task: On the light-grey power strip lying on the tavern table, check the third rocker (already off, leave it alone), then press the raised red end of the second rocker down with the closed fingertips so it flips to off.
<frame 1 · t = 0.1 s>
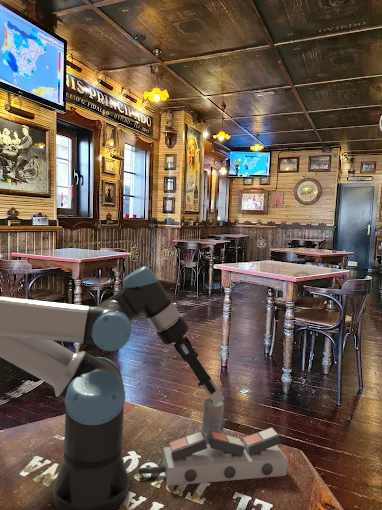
hand: (212, 389, 96), 15 cm above the table, tool tilted 35°, fingers open, 13 cm apart
energy drink: (211, 448, 97), on the table
rocker 2: (225, 443, 87), point 6 cm above the table, hinge at 17.0°
rocker 1: (188, 445, 85), point 6 cm above the table, hinge at -17.0°
rocker 3: (261, 440, 89), point 6 cm above the table, hinge at -17.0°
power strip: (223, 469, 87), on the table
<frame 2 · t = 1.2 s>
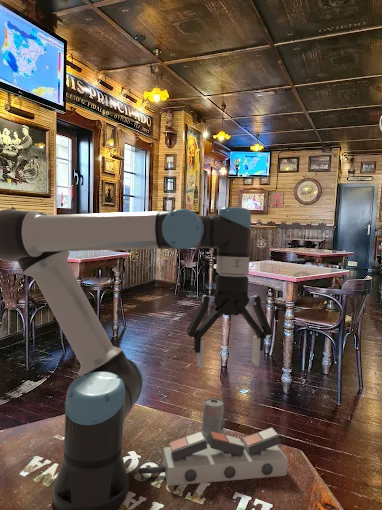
hand: (228, 365, 87), 25 cm above the table, tool pointing down, fingers open, 13 cm apart
nothing on the table moved.
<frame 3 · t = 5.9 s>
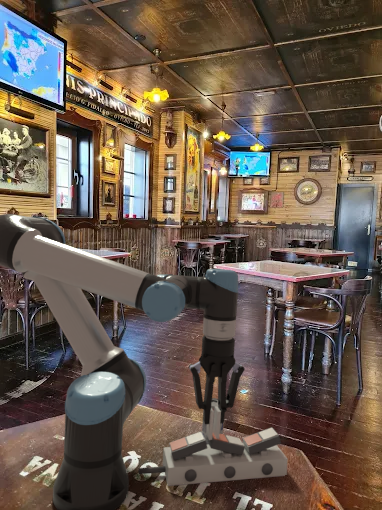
hand: (212, 436, 86), 8 cm above the table, tool pointing down, fingers closed, pressing on rocker 2
rocker 2: (225, 443, 87), point 6 cm above the table, hinge at 16.1°, touching gripper
everything else where it was.
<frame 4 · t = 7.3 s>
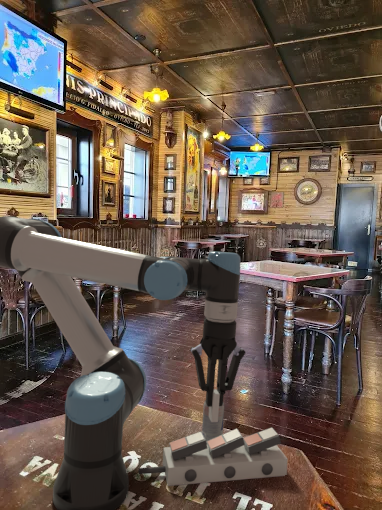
hand: (213, 419, 86), 12 cm above the table, tool pointing down, fingers closed
rocker 2: (225, 443, 87), point 6 cm above the table, hinge at -20.3°
everything else where it was.
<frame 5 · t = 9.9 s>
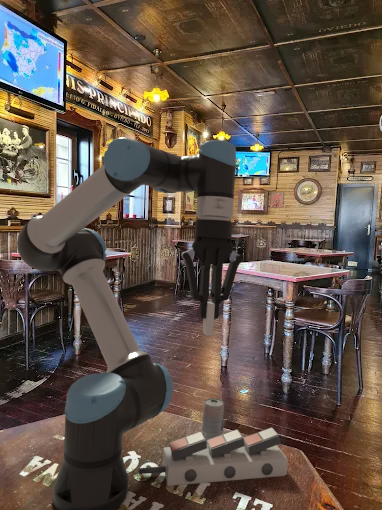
hand: (207, 333, 77), 34 cm above the table, tool pointing down, fingers closed
rocker 2: (225, 443, 87), point 6 cm above the table, hinge at -16.4°
everything else where it was.
at the end: rocker 2 at -16° (first picture: +17°); rocker 3 at -17° (first picture: -17°); energy drink moved 0.2 cm from its start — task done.
